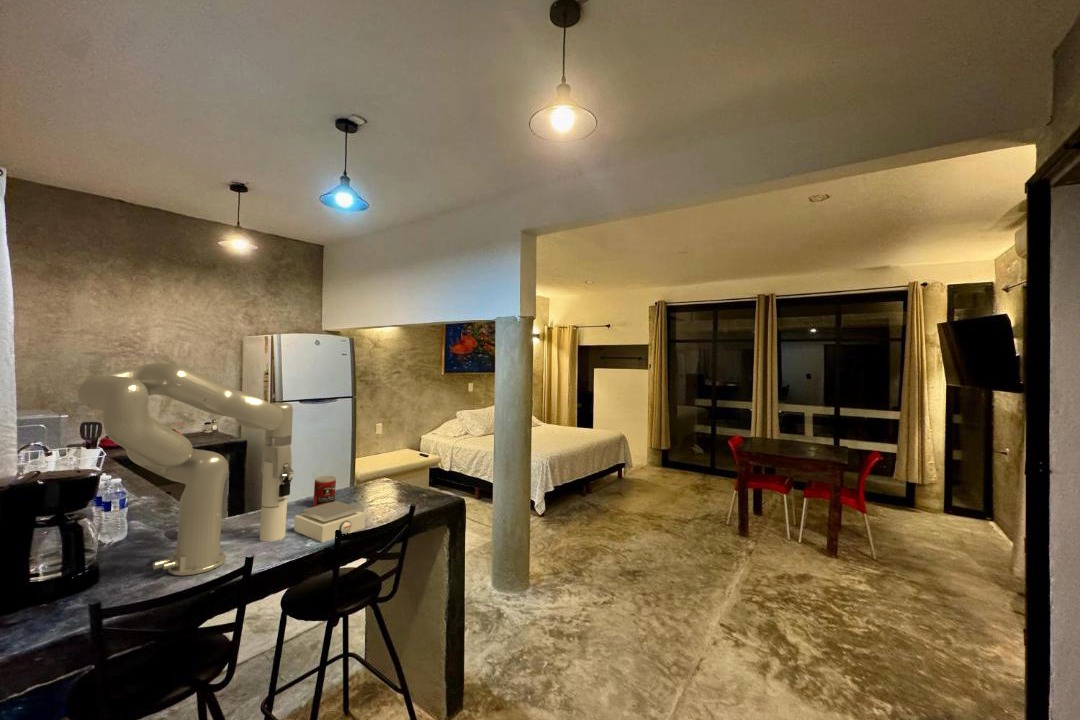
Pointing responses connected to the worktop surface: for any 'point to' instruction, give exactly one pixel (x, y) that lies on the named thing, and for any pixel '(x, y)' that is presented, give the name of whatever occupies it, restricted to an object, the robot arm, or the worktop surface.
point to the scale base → (328, 526)
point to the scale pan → (330, 511)
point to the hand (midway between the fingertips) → (276, 493)
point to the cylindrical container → (272, 507)
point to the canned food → (324, 490)
